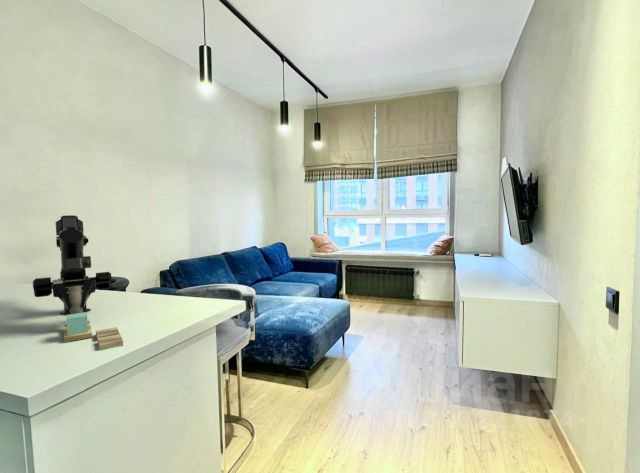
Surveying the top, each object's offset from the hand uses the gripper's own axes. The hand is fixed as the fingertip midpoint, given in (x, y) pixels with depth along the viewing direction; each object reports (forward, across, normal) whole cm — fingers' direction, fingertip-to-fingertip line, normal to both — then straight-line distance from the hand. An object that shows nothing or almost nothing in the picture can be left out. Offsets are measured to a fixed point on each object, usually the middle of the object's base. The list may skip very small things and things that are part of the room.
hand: (76, 307), depth 100 cm
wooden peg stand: (+7, 0, +2) cm, 7 cm away
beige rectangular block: (+15, +6, -6) cm, 17 cm away
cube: (+8, 0, -1) cm, 8 cm away
